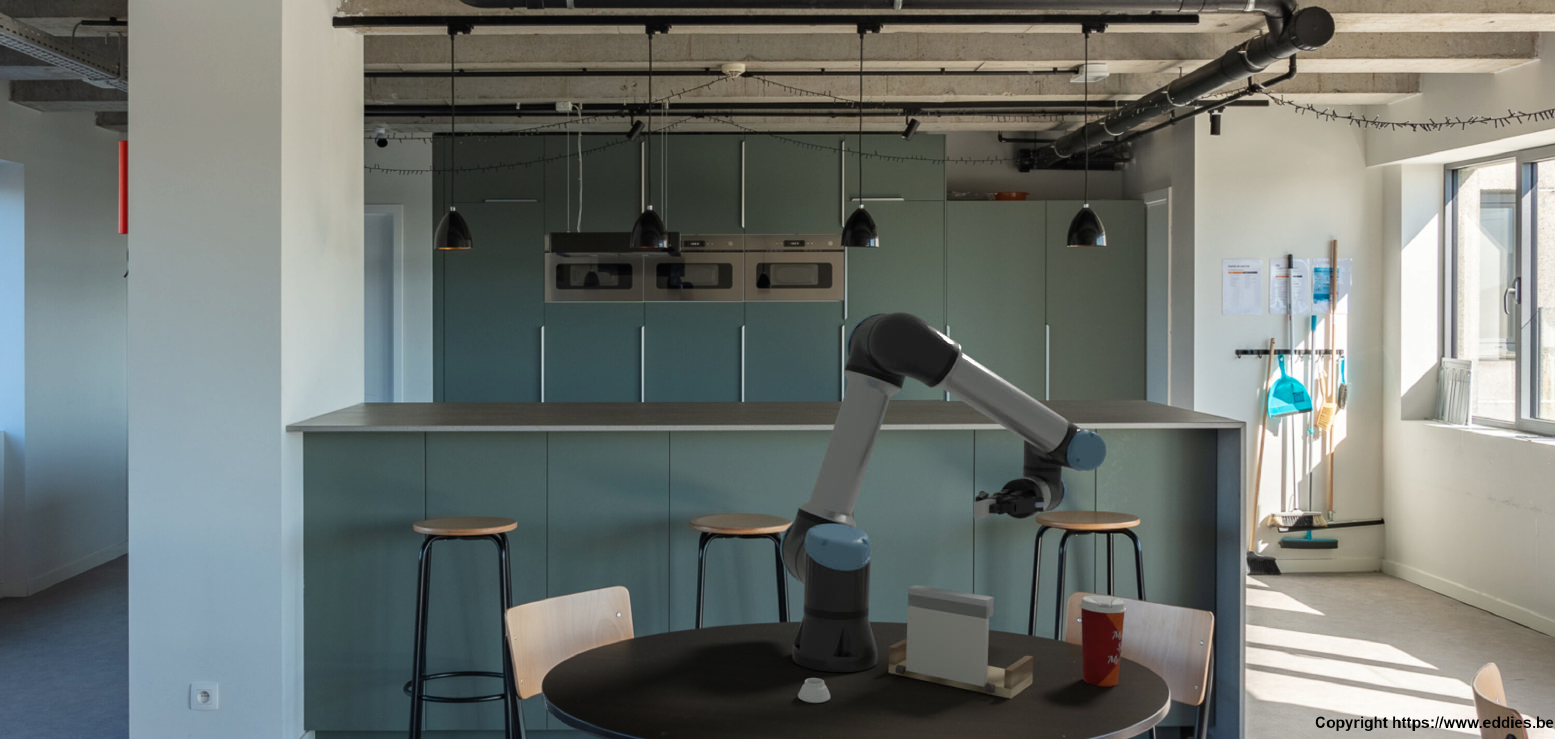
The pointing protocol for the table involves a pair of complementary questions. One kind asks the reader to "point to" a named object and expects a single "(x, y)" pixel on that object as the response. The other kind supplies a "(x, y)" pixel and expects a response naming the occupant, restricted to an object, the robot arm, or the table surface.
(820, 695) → the white jar
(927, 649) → the tailgate
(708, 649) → the table surface
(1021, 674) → the cart bed
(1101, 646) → the paper cup
